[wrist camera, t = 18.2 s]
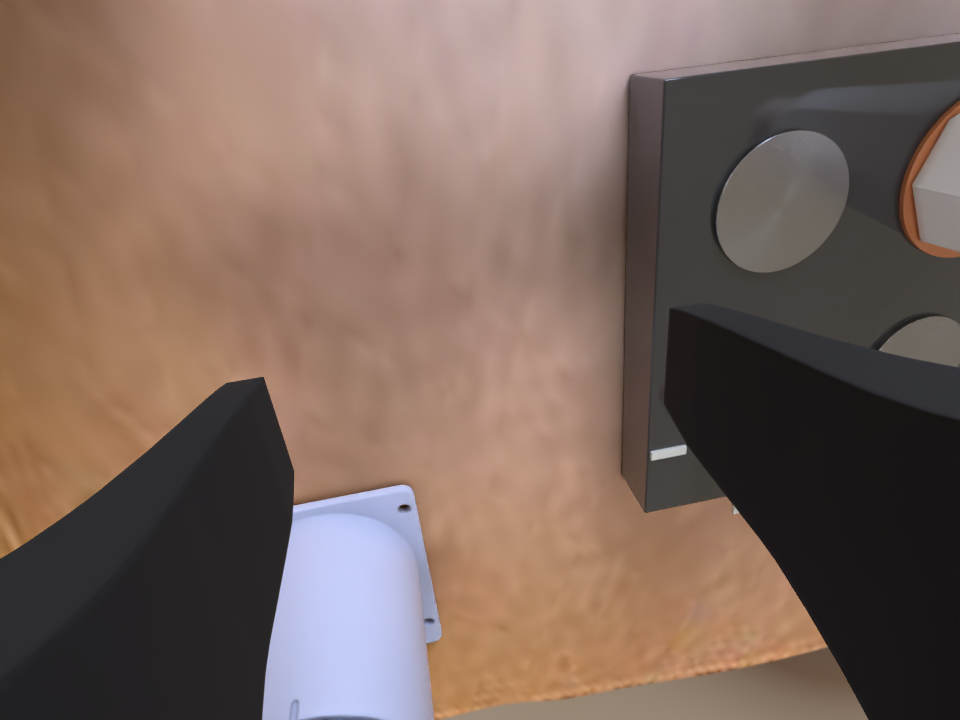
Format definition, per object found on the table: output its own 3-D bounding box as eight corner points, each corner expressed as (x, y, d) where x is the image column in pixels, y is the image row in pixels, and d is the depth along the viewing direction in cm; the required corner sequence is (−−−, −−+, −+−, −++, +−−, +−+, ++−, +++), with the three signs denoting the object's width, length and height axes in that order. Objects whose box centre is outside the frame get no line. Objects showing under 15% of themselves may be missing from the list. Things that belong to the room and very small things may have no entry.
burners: (973, 391, 24) (977, 393, 24) (692, 446, 23) (694, 449, 23) (1088, 67, 18) (1095, 67, 18) (722, 117, 17) (725, 118, 17)
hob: (904, 433, 28) (953, 468, 26) (621, 490, 27) (645, 533, 24) (1028, 24, 20) (1116, 21, 18) (629, 74, 18) (666, 79, 16)
